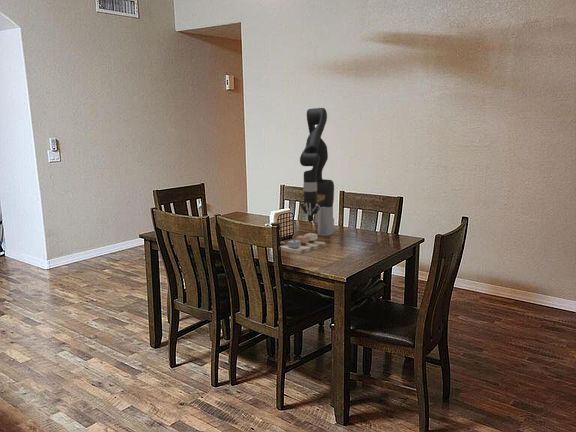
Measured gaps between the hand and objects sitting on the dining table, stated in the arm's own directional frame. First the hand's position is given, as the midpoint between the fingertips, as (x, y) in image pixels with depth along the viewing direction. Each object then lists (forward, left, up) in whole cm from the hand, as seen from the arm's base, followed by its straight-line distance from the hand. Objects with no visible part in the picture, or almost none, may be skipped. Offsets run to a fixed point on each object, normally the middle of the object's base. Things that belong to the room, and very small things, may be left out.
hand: (310, 221), depth 273 cm
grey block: (+14, 0, -11) cm, 18 cm away
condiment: (+8, -18, -14) cm, 24 cm away
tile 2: (+7, 0, -10) cm, 12 cm away
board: (+7, 0, -14) cm, 15 cm away
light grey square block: (0, 0, -10) cm, 10 cm away
